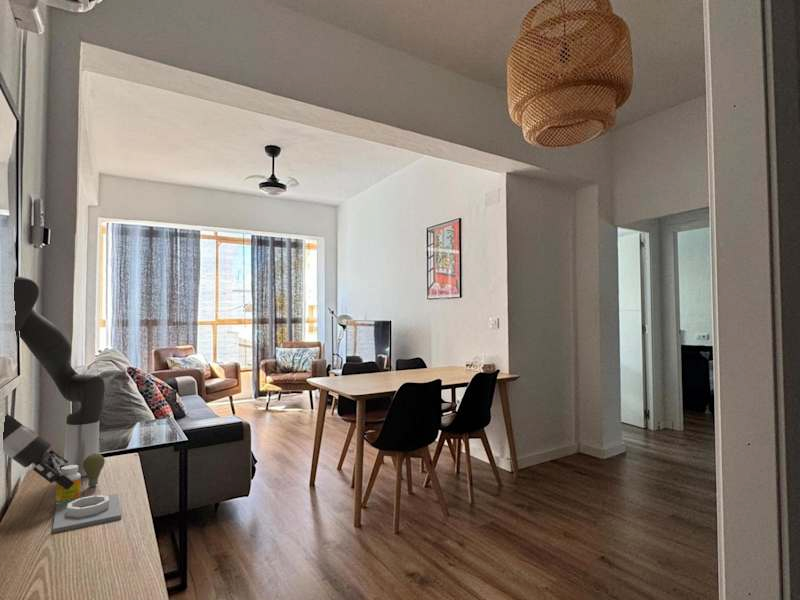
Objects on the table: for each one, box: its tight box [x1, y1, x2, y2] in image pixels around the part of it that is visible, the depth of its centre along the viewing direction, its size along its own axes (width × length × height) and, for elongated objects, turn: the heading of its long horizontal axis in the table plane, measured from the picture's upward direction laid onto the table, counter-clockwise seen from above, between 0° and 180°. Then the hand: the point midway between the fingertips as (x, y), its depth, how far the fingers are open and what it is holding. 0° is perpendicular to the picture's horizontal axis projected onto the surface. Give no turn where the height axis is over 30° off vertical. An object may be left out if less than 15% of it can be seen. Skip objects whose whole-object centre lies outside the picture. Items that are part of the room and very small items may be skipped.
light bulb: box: [83, 453, 106, 488], centre depth 136 cm, size 6×6×10 cm
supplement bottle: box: [55, 465, 82, 505], centre depth 124 cm, size 5×5×10 cm
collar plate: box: [52, 493, 122, 534], centre depth 116 cm, size 18×14×3 cm
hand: (73, 481), depth 125 cm, fingers open, 8 cm apart
